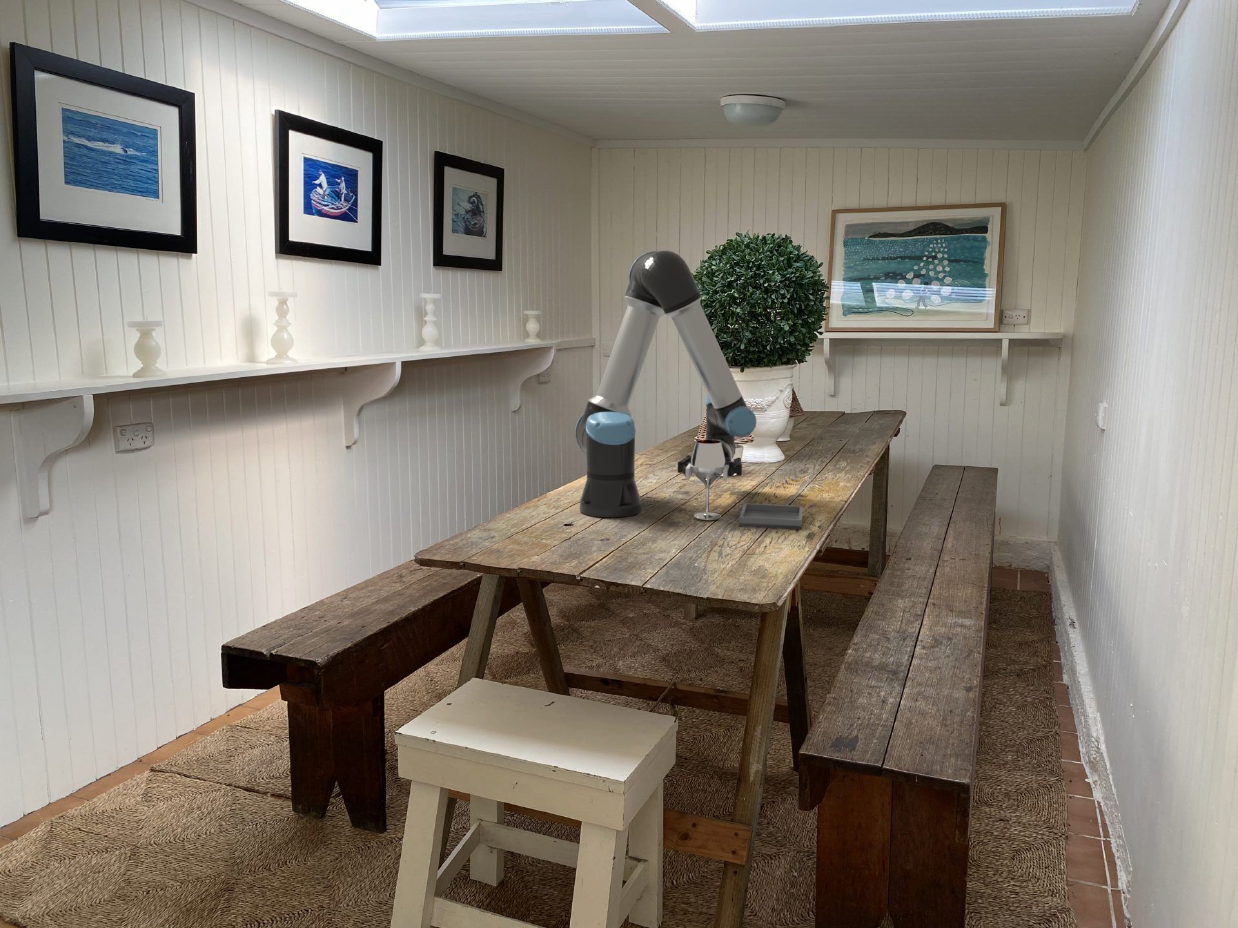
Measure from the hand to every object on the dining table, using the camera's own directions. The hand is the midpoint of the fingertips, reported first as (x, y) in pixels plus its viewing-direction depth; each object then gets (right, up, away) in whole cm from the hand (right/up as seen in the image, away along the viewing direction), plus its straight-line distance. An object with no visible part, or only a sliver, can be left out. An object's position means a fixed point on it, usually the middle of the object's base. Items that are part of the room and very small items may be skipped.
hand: (705, 475), depth 218 cm
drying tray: (+16, -11, +5) cm, 20 cm away
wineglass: (+1, -10, +7) cm, 12 cm away
